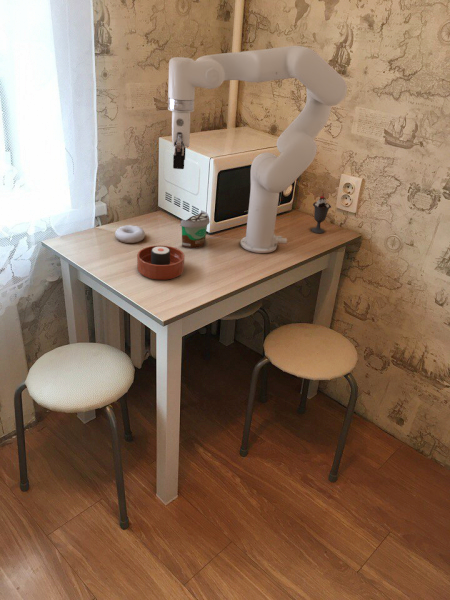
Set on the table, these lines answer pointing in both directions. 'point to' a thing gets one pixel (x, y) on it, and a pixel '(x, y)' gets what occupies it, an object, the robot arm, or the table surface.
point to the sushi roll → (160, 256)
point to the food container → (194, 230)
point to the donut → (130, 234)
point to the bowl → (160, 270)
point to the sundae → (320, 213)
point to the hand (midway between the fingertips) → (179, 164)
